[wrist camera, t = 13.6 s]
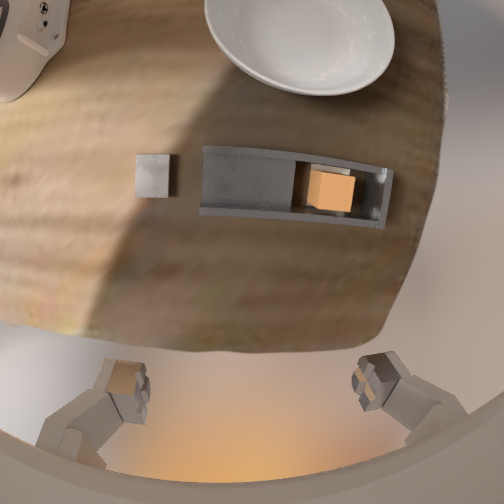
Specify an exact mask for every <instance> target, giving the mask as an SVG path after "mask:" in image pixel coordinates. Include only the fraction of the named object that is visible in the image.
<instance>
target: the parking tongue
mask: <svg viewBox="0 0 504 504" xmlns="http://www.w3.org/2000/svg"><path fill="white" fill-rule="evenodd" d="M170 170H171V154H142V155H136V197H156V198H168V197H169V196H170Z"/></svg>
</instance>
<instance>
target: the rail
mask: <svg viewBox="0 0 504 504" xmlns="http://www.w3.org/2000/svg"><path fill="white" fill-rule="evenodd" d="M202 153H204V164H203V181H202V201H201V205H200V207H199V215H213V216H233V217H250V218H266V219H281V220H295V221H308V222H320V223H332V224H343V225H354V226H364V227H374V228H377V229H383V230H384V227H385V222H386V217H387V211H388V206H389V200H390V194H391V188H392V181H393V174H394V170H390V169H386V168H381V167H377V166H372V165H367V164H362V163H357V162H352V161H346V160H341V159H335V158H329V157H323V156H316V155H309V154H302V153H294V152H286V151H277V150H268V149H257V148H245V147H230V146H211V145H203V150H202ZM296 161H304V162H312V163H311V168H310V173H311V169H313V170H320V171H327V172H334V173H341V174H345V175H349V176H350V169H356V170H361V171H366V174H365V182H364V189H363V195H362V202H361V208H360V212H354V211H350V212H345V211H335V210H326V209H317V208H316V207H307V206H313V205H311V204H310V203H308V202H307V201H306V206H296V205H291V201H292V192H293V184H294V174H295V165H296ZM313 163H319V164H313ZM320 164H325V165H320ZM326 165H332V166H326ZM333 166H338V167H333ZM339 167H344V168H339ZM345 168H350V169H345ZM309 182H310V177H309ZM308 190H309V185H308ZM307 198H308V193H307Z"/></svg>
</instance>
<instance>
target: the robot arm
mask: <svg viewBox="0 0 504 504" xmlns="http://www.w3.org/2000/svg"><path fill="white" fill-rule="evenodd" d="M70 1H71V0H0V102H10V101H13V100H15V99H16V98H18V97H19V96H21V95H22V94H23V93H24V92H25V91H26V90H27V89H28V88H29V87H30V86H31V85H32V84H33V82H34V81H35V80H36V79H37V77H38V76H39V74H40V73H41V71H42V69H43V68H44V66H45V65H46V63H47V62H48V61H49V60H50V59H51V58H52V57H53V56H54V55H55V54H56V53H57V52H58V51H59V50H60V49H61V48H62V47H63V45H64V43H65V38H66V28H67V20H68V13H69V6H70ZM57 37H58V38H57ZM357 364H358V365H359V367H358V368H357V369H356V370H355V371H354V372H353V375H352V387H353V389H354V392H355V393H357V394H358V395H360V397H359V402H360V404H361V406H362V408H363V410H364V412H366V411H371V410H375V409H379V408H382V410H384V411H385V412H386V413H388V414H389V415H390V416H392V417H393V418H394V419H396V420H397V421H398V422H400V423H401V424H402V425H404V426H405V427H406V428H408V429H409V430H410V431H412V432H411V433H410V434H409V435H408V437H407V438H406V439H405V443H406V445H407V446H405V447H402V448H400V449H397V450H395V451H392V452H389V453H387V454H384V455H381V456H378V457H375V458H372V459H369V460H366V461H362V462H359V463H356V464H352V465H349V466H345V467H341V468H337V469H333V470H329V471H324V472H319V473H314V474H310V475H304V476H298V477H291V478H284V479H276V480H267V481H255V482H238V483H198V482H181V481H169V480H160V479H152V478H145V477H139V476H133V475H128V474H122V473H118V472H113V471H109V470H106V465H107V464H106V463H105V461H104V460H103V459H102V458H101V457H100V456H99V454H98V453H97V451H98V449H99V448H100V447H101V446H102V445H103V444H104V443H105V442H106V441H107V440H108V439H109V438H110V437H111V436H112V435H113V434H114V433H115V432H116V431H117V430H118V428H119V427H120V426H121V425H122V424H123V422H127V423H134V424H144V425H145V422H146V416H147V408H146V405H145V404H147V403H148V402H149V398H150V382H149V378H148V377H146V375H145V374H146V367H145V364H144V363H139V362H131V361H124V360H116V359H110V358H106V359H104V361H103V362H102V365H101V367H100V369H99V372H98V374H97V377H96V380H95V382H94V385H93V388H92V390H91V389H88V390H86V391H85V392H83V393H82V394H80V395H79V396H78V397H76V398H75V399H74V400H72V401H71V402H69V403H68V404H66V405H65V406H63V407H62V408H61V409H59V410H58V411H57V412H55V413H53V414H52V415H51V416H49V417H48V418H46V419H45V422H44V424H43V427H42V429H41V432H40V435H39V437H38V440H37V443H36V445H35V446H33V445H31V444H29V443H27V442H24V441H22V440H20V439H18V438H16V437H14V436H12V435H10V434H8V433H6V432H4V431H2V430H1V429H0V504H504V391H503V392H502V393H500V394H499V395H498V396H496V397H495V398H493V399H492V400H490V401H489V402H487V403H486V404H485V405H483V406H481V407H480V408H478V409H477V410H475V411H474V412H472V413H470V414H469V415H468V414H467V412H466V411H465V409H464V408H463V406H462V405H461V404H460V403H459V401H458V399H457V398H456V397H455V395H453V394H450V393H449V392H447V391H445V390H442V389H440V388H439V387H437V386H435V385H433V384H431V383H429V382H427V381H425V380H423V379H421V378H419V377H417V376H415V375H413V376H412V375H411V374H410V372H409V371H408V370H407V368H406V367H405V365H404V364H403V363H402V361H401V360H400V358H399V357H398V356H397V355H396V353H395V352H394V351H389V352H384V353H378V354H373V355H367V356H362V357H361V358H360V359H359V361H358V363H357Z"/></svg>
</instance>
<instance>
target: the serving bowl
mask: <svg viewBox="0 0 504 504" xmlns="http://www.w3.org/2000/svg"><path fill="white" fill-rule="evenodd" d="M204 12H205V18H206V22H207V25H208V28H209V30H210V32H211V34H212V36H213V38H214V40H215V42H216V43H217V45H218V46H219V48H220V49H221V50H222V52H223V53H224V54H225V55H226V56H227V57H228V58H229V59H230V60H231V61H232V62H233V63H234V64H235V65H236V66H238V67H239V68H240V69H241V70H243V71H244V72H246V73H247V74H249V75H250V76H252V77H254V78H255V79H257V80H259V81H261V82H263V83H265V84H267V85H270V86H272V87H275V88H277V89H280V90H283V91H287V92H291V93H296V94H302V95H310V96H333V95H341V94H347V93H351V92H354V91H357V90H359V89H362V88H364V87H366V86H368V85H369V84H371V83H372V82H374V81H375V80H376V79H377V78H378V77H380V76H381V75H382V74H383V72H384V71H385V70H386V68H387V67H388V65H389V63H390V61H391V58H392V56H393V52H394V45H395V35H394V28H393V24H392V20H391V18H390V15H389V13H388V10H387V8H386V7H385V5H384V3H383V2H382V0H204Z"/></svg>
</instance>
